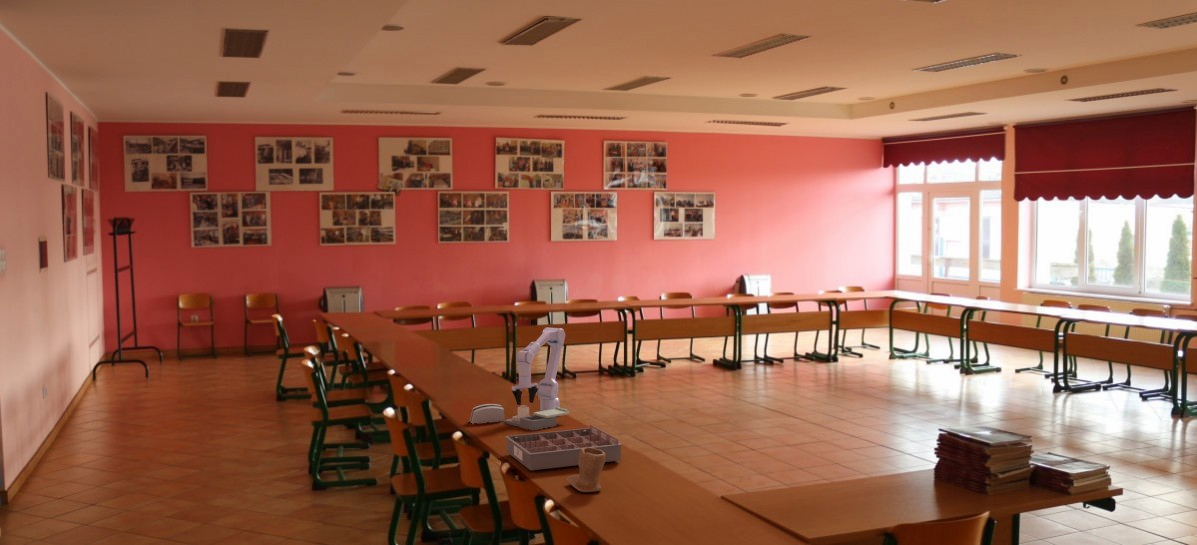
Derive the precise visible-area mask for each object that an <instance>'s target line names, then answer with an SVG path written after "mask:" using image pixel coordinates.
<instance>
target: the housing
mask: <svg viewBox="0 0 1197 545" xmlns="http://www.w3.org/2000/svg"><path fill="white" fill-rule="evenodd" d="M504 424H507V425H510V426H513V427H514V426H515V427H517V426H518V428H522V429H525V430H528V429H529V430H528V431H532V432H533V431H534V430H535V431H538V430H539V429H540V430H544V429H543V428H545V429H549V428H548V427H550V428H554V426H555V427H557V416H555V417H550V418H544V417H540V416H536V415H530V414H529V416H527V417H522V418H518V415H515V416H512V417H511V418H508V419H504ZM535 431H534V432H535Z"/></svg>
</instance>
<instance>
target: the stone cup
mask: <svg viewBox="0 0 1197 545" xmlns="http://www.w3.org/2000/svg"><path fill="white" fill-rule="evenodd" d="M605 464H606V462H605V453H604V452H603V451H602V450H599V449H596V448H591V447H584V448H582V449H581V451H580V453H579V465H578V470H579V474H573V475H570V476H568V477H567V478H566V481H567V482H568V483H569V484H570V485H571V486H572V487H573V488H575V489H576V490H577V491H579V492H580V493H592V492H593V493H594V492H600V491H601V490H602V486H601V484H600V481H599V478H600V475H601V473H602V470H603V469H604V466H605Z"/></svg>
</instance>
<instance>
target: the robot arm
mask: <svg viewBox="0 0 1197 545" xmlns="http://www.w3.org/2000/svg"><path fill="white" fill-rule="evenodd" d="M565 338H566V332H565V330H564V328H561V327H560V328H559V327H558V328H557V327H545V328H544V329H543V330H542V334H541V335H540V336H539V337H538V338H537V339H536V341H531V342H530V343H529V344H528V345H527V346H526V347H525V348H523V349H522V350H519V351H518V352H517V353H516V357H515V359H516V361H517V366H518V384H515V385H512V386H511V392H512V394H513V396H514V398H515V402H516V405H518V406H521V405H522V394H523V391H521V390H525V389H526V390H527V391H528V400H529V403H531V404H533V403H534V400H535V397H536V395H537V397H538V398H539V399H540V400H539V401H540V403H539V404H540V405H539V406H540V409H539V412H540V411H545V410H551V409H556V407H558V408H561V403H560V399H559V397H558V395H559V386H560V385H559V383H558V381H556V379H557V378H556V377H557V373H558V369H559V368H558V367H559V364H560V359H561V355H562V350H563V346H564V344H565ZM546 343H547V344H548V345H549V346H550V353H549V357H548V361H547V366H546V371H545V375H544V378H543V379H541V380H540V381H539V382H532V362H533V361H534V358H535V356H536V355H537V354H539V352H540V351H541V347H543V345H545V344H546ZM560 416H562V415H560ZM560 416H559V417H560Z"/></svg>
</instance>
